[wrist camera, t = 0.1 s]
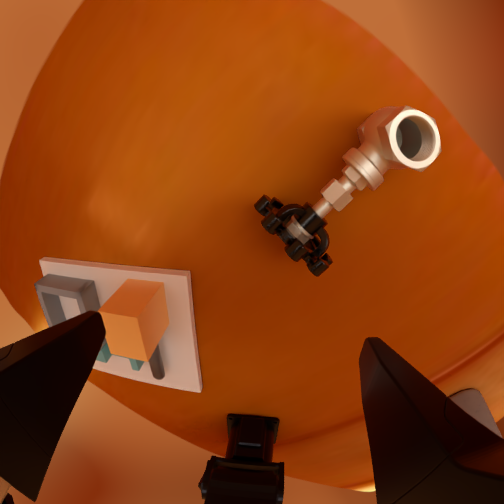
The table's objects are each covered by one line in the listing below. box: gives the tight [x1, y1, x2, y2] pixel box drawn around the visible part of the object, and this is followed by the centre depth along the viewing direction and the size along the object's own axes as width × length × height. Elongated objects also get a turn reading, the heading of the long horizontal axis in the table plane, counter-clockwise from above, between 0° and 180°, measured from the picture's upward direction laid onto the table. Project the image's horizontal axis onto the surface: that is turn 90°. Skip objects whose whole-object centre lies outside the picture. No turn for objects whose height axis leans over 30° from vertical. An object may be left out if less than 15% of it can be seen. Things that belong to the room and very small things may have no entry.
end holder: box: [34, 274, 107, 352], centre depth 26 cm, size 7×7×2 cm
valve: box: [254, 106, 441, 277], centre depth 17 cm, size 7×7×12 cm
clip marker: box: [98, 342, 144, 371], centre depth 27 cm, size 2×5×2 cm, turn 89°
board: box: [39, 257, 203, 393], centre depth 28 cm, size 15×18×1 cm
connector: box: [98, 278, 169, 380], centre depth 24 cm, size 11×4×6 cm, turn 179°
